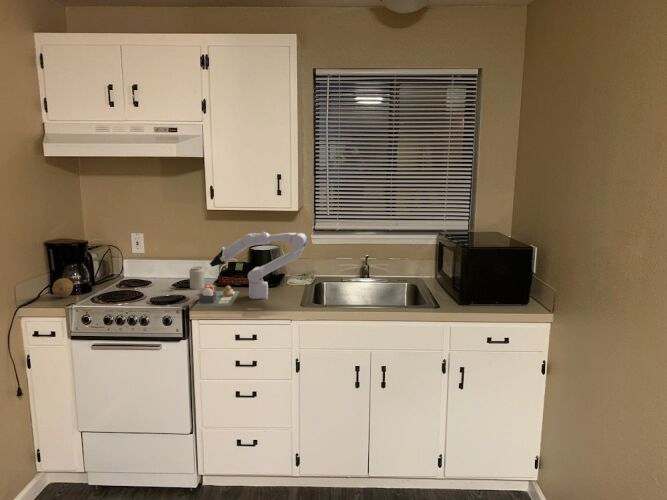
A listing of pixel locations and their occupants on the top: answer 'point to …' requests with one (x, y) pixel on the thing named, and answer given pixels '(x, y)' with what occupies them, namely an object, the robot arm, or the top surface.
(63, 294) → the natural sponge
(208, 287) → the die
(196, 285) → the can
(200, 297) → the board
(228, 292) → the pawn
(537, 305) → the top surface
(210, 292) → the dome
